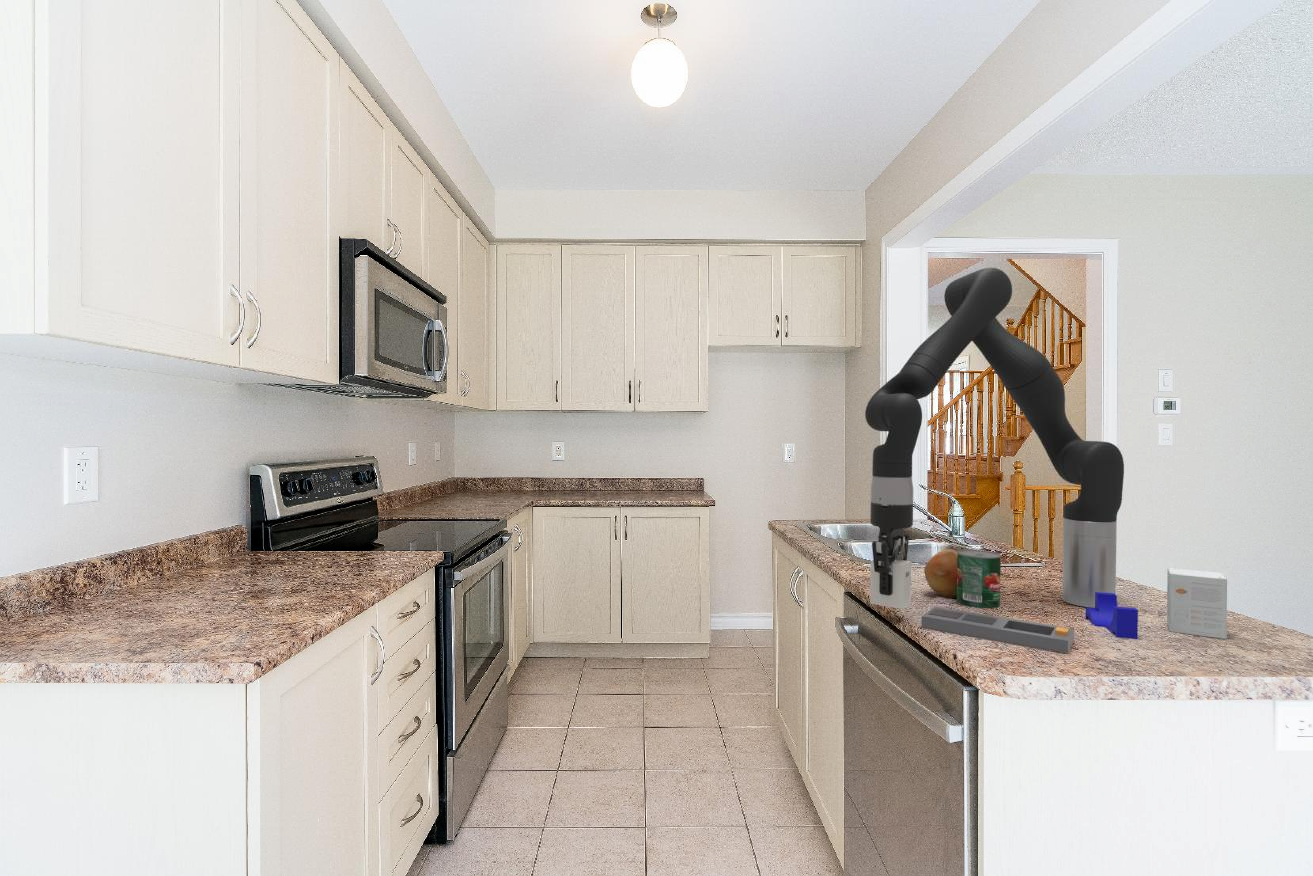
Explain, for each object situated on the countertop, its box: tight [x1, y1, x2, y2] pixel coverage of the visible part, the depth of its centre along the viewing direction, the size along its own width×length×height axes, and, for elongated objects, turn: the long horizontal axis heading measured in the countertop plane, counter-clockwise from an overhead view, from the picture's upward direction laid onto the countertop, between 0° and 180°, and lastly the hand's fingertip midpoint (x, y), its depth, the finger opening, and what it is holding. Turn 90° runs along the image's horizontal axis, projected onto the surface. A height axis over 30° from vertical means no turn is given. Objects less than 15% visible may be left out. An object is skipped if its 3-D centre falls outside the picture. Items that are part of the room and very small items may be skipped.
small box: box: [1166, 567, 1228, 640], centre depth 119 cm, size 8×6×10 cm
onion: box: [923, 548, 959, 599], centre depth 143 cm, size 10×10×10 cm
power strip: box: [921, 606, 1075, 655], centre depth 114 cm, size 8×22×4 cm, turn 52°
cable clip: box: [1084, 592, 1139, 640], centre depth 118 cm, size 12×4×6 cm, turn 162°
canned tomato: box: [956, 549, 1002, 609], centre depth 134 cm, size 8×8×11 cm
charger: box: [869, 559, 912, 610], centre depth 126 cm, size 4×6×8 cm
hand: (890, 591), depth 126 cm, fingers closed on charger, 4 cm apart
